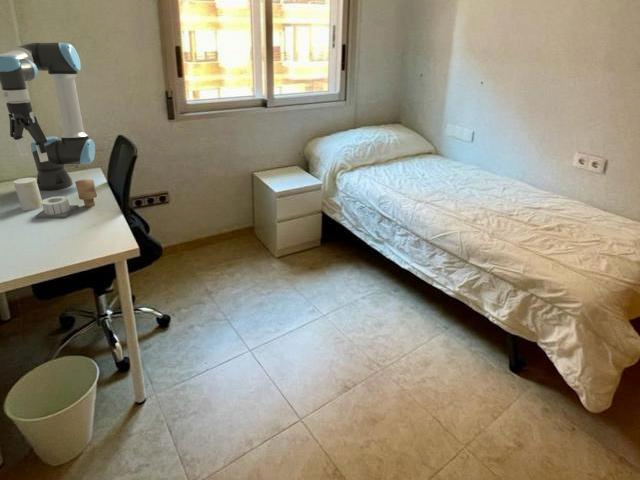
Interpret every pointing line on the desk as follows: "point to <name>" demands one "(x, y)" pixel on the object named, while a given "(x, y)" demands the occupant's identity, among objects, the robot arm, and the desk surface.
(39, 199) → the cup
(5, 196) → the desk surface
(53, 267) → the desk surface
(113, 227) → the desk surface
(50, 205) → the socket
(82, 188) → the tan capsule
